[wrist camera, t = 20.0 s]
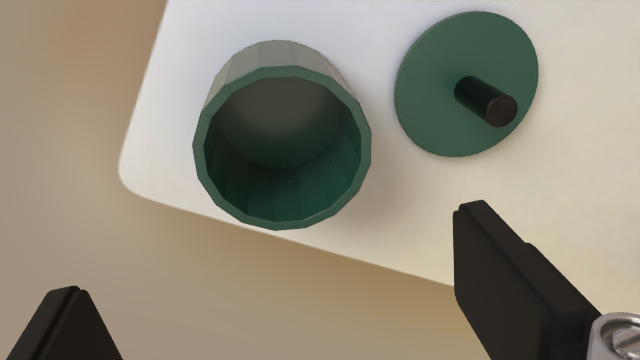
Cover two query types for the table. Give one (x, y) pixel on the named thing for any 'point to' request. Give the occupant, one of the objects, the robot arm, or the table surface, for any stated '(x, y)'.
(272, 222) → the tin
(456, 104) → the lid
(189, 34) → the table surface
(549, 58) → the table surface
